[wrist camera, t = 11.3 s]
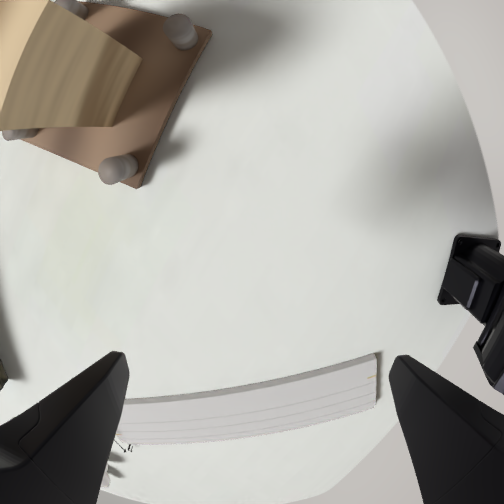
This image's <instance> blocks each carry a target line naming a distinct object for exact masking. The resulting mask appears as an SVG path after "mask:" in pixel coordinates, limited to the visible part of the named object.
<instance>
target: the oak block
mask: <svg viewBox="0 0 504 504" xmlns="http://www.w3.org/2000/svg"><path fill="white" fill-rule="evenodd" d="M142 60H143V59H142V58H141V57H140V56H138V55H137V54H135V53H134V52H132V51H131V50H129V49H128V48H127V47H125V46H124V45H122V44H121V43H119V42H118V41H116V40H115V39H113V38H112V37H110V36H109V35H107V34H105V33H104V32H102V31H101V30H99V29H98V28H96V27H94V26H93V25H91V24H90V23H88V22H86V21H85V20H83V19H82V18H80V17H78V16H77V15H75V14H73V13H72V12H70V11H68V10H66V9H65V8H63V7H61V6H59V5H58V4H56V3H54V2H52V1H50V0H0V131H5V130H17V129H31V128H50V127H112V126H113V123H114V121H115V118H116V116H117V113H118V111H119V109H120V106H121V104H122V102H123V99H124V97H125V95H126V93H127V91H128V88H129V86H130V84H131V82H132V80H133V78H134V76H135V74H136V72H137V70H138V68H139V66H140V64H141V62H142Z"/></svg>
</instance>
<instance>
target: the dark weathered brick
mask: <svg viewBox="0 0 504 504" xmlns="http://www.w3.org/2000/svg"><path fill="white" fill-rule="evenodd" d="M7 381H8V377H7V375H6V373H5V370H4V368H3V366H2V363H1V360H0V391H1V389H2V388H3V387H4V385H5V383H6V382H7Z"/></svg>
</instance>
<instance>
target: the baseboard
mask: <svg viewBox="0 0 504 504" xmlns="http://www.w3.org/2000/svg"><path fill="white" fill-rule="evenodd" d="M376 374H377V359H376V357H375V355H374V353H373V354H369V355H366V356H363V357H360V358H357V359H353V360H350V361H346V362H343V363H339V364H336V365H332V366H329V367H325V368H321V369H317V370H313V371H309V372H305V373H301V374H297V375H293V376H288V377H284V378H279V379H275V380H270V381H265V382H260V383H255V384H249V385H244V386H238V387H232V388H226V389H220V390H213V391H206V392H198V393H190V394H182V395H172V396H162V397H150V398H135V399H125V400H124V405H123V410H122V415H121V418H120V422H119V425H118V428H117V431H116V435H117V436H118V438H119V439H120V440H121V442H125V443H127V444H129V446H131V444H142V445H156V444H187V443H202V442H214V441H224V440H232V439H240V438H248V437H254V436H261V435H267V434H273V433H278V432H283V431H288V430H293V429H298V428H303V427H307V426H311V425H316V424H320V423H324V422H328V421H331V420H335V419H339V418H342V417H346V416H349V415H353V414H356V413H359V412H363V411H366V410H369V409H372V408H374V406H375V405H376ZM117 444H118V443H117ZM118 445H119V444H118ZM119 446H120V445H119ZM120 447H121V446H120ZM132 447H133V446H132ZM121 448H122V447H121ZM122 449H123V448H122ZM128 449H130V447H128ZM123 450H124V449H123ZM131 450H132V449H131ZM128 451H129V450H128ZM124 452H126V450H124ZM131 452H132V451H131Z"/></svg>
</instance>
